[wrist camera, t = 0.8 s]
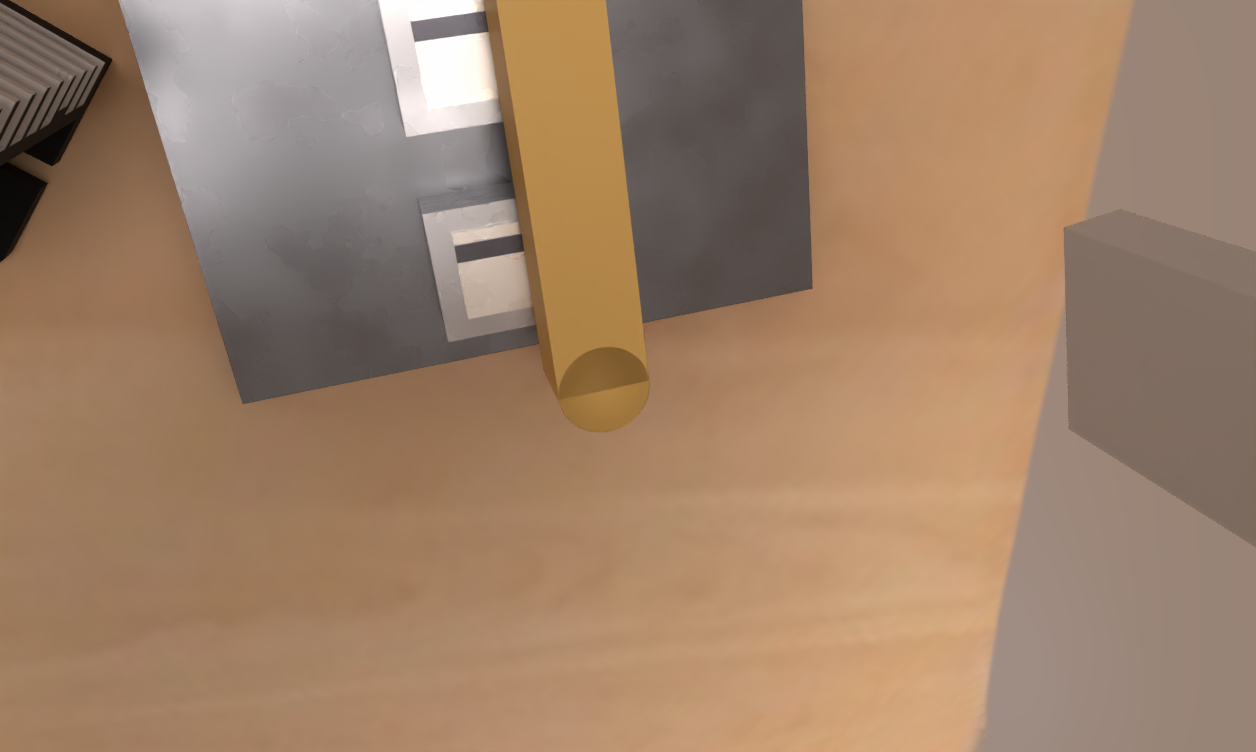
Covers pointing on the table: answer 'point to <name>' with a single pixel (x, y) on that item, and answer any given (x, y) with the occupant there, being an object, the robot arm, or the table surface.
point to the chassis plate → (455, 172)
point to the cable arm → (572, 203)
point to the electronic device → (37, 106)
